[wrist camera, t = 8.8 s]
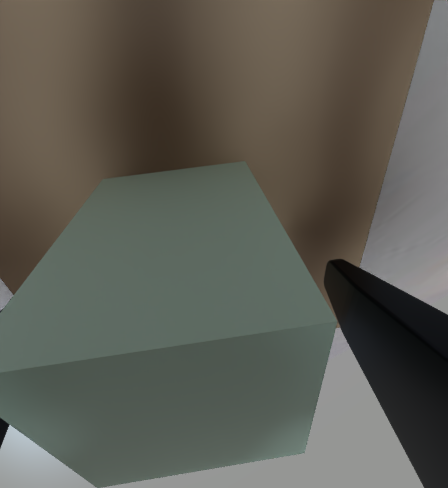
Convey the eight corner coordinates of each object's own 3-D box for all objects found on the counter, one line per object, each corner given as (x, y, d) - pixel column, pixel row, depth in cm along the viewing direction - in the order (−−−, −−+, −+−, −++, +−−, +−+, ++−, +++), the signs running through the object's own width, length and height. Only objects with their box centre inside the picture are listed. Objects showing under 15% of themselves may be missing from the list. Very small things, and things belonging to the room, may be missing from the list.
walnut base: (402, -58, 8) (459, -90, 6) (327, 301, 17) (342, 326, 15) (-146, -8, 7) (-243, -28, 6) (83, 337, 16) (71, 367, 15)
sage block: (245, 161, 9) (337, 321, 3) (249, 268, 12) (304, 452, 6) (102, 179, 9) (-51, 380, 3) (142, 283, 12) (97, 488, 6)
